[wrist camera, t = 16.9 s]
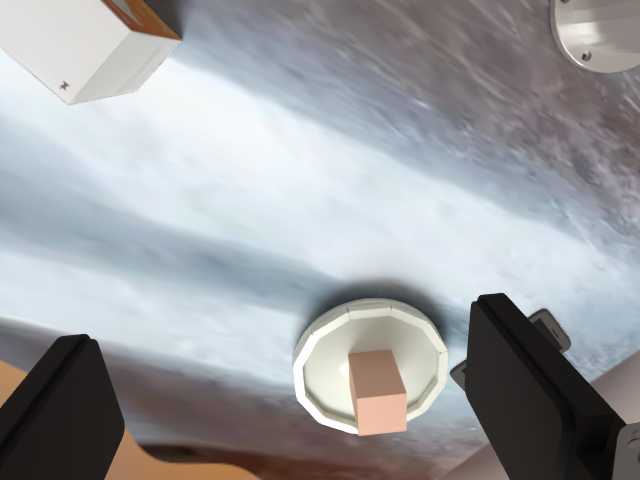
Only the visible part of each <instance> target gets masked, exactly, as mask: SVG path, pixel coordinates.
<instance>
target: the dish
mask: <svg viewBox="0 0 640 480" xmlns="http://www.w3.org/2000/svg"><path fill="white" fill-rule="evenodd" d="M390 349H391V350H392V353H393V356H394V359H395V361H396V364H397V367H398V370H399V373H400V375H401V378H402V381H403V384H404V387H405V389H406V392H407V421H406V422H408V421H409V420H411V419H413V418H415V417H417V416H419V415H421V414H422V413H424V411H426V410H427V409H428V408H429V406H430V405H431V404H432V402H433V401H434V399H435V398H436V397H437V395H438V394H439V393H440V391H441V390H442V389H443V387H444V386H445V385H446V384H445V383H446V380H447V365H448V349H447V348H446V346H445V344H444V343H443V340H442V338H441V336H440V334H439V332H438V330H437V329H436V327H435V325H434V324H433V323H432V322H431V320H430V319H429V318H428V317H427V316H426V315H425V314H423V313H422V312H421V311H419V310H418V309H416V308H414V307H412V306H410V305H408V304H406V303H403V302H400V301H397V300H392V299H385V298H365V299H359V300H354V301H350V302H347V303H344V304H341V305H339V306H336V307H334V308H332V309H331V310H329V311H327V312H325V313H324V314H323V315H321V316H320V317H318V318H317V319H316V320H315V321H314V322H313V323H312V324H311V325H310V326H309V327H308V328H307V329H306V330H305V332H304V333H303V335H302V336H301V338H300V340H299V342H298V344H297V346H296V349H295V352H294V357H293V379H294V384H295V388H296V397H297V400H298V401H299V402H300V403H301V404H302V405H303V406H304V407H305V408H306V409H307V410H308V411H309V413H310V414H311V415H312V416H313V417H314V418H315V419H316V420H317V421H318V422H320V423H321V424H324V425H327V426H330V427H333V428H337V429H340V430H343V431H346V432H349V433H352V434H353V433H355V434H358V430H357V424H356V419H355V414H354V408H353V403H352V398H351V393H350V386H349V366H348V354H350V353H360V352H370V351H380V350H390Z"/></svg>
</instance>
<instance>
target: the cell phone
mask: <svg viewBox="0 0 640 480" xmlns="http://www.w3.org/2000/svg"><path fill="white" fill-rule="evenodd" d="M528 319H529V321H530V322H531V323H532V324H533V325H534V326H535V327H536V328H537V329H538V330H539V331H540V332H541V334H542V335H543V336H544V337H545V338H546V339H547V340H548V341H549V342H550V343H551V344H552V345H553V346H555V347H556V348H557V349H558V351H559V352H560V353H561V354H562V353H564V352H565V351H567V350H568V349H569V348H570V346H571V342H570V341H569V339H568V337H567V336H566V335H565V333H564V332H563V331H562V329H561V328H560V327H559V325H558V324H557V323H556V321H555V320H554V319H553V317H552V316H551V315H550V313H549V312H548V311H547V310H540V311H538V312H537V313H535V314H533V315H532V316H530V317H529V318H528ZM465 372H466V360H465V361H464V362H462V363H461V364H459V365H458V366H456V367H455V368H453V369H452V370H451V371H450V376H451V377H452V378H453V380H454V381H455V382H456V383H457V384H458V385H459V386H460V387H461V388H462V389H463V390H464V391H465Z"/></svg>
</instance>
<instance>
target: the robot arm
mask: <svg viewBox="0 0 640 480" xmlns="http://www.w3.org/2000/svg"><path fill="white" fill-rule="evenodd" d="M550 23H551V29H552V34H553V36H554V39H555V41H556V44H557V46H558V47H559V49H560V50H561V52H562V53H563V55H564V56H565V57H566V58H567V59H568V60H569V61H570V62H572V63H573V64H574V65H576V66H578V67H580V68H582V69H585V70H588V71H592V72H602V73H610V72H620V71H624V70H627V69H631V68H633V67H635V66H638V65H640V0H550ZM582 55H583V57H582ZM465 393H466V396H467V399H468V401H469V403H470V405H471V407H472V409H473V410H474V412H475V414H476V416H477V418H478V420H479V422H480V424H481V426H482V428H483V429H484V431H485V433H486V435H487V437H488V439H489V441H490V443H491V445H492V447H493V448H494V450H495V452H496V454H497V456H498V458H499V460H500V462H501V463H502V465H503V467H504V469H505V471H506V473H507V475H508V477H509V479H510V480H640V422H638V423H633V424H628V425H627V424H626V423H625V422H624V421H623V420H622V419H621V418H620V417H619V416H618V414H617V413H616V412H615V411H614V410H613V409H612V408H611V407H610V406H609V405H608V404H607V403H606V401H605V400H604V399H603V398H602V397H601V396H600V395H599V394H598V393H597V392H596V391H595V390H594V388H593V387H592V386H591V385H590V384H589V383H588V382H587V381H586V380H585V379H584V378H583V377H582V375H581V374H580V373H579V372H578V371H577V370H576V369H575V368H574V367H573V366H572V365H571V364H570V362H569V361H568V360H567V359H566V358H565V357H564V356H563V355H562V354H561V353H560V352H559V351H558V349H557V348H556V347H555V346H553V345H552V344H551V343H550V342H549V341H548V340H547V339H546V338H545V337H544V336H543V335H542V334H541V332H540V331H539V330H538V329H537V328H536V327H535V326H534V325H533V324H532V323H531V322H530V321H529V319H528V318H527V317H526V316H525V315H524V314H523V313H522V312H521V311H520V310H519V309H518V307H517V306H516V305H515V304H514V303H513V302H512V301H511V300H510V299H509V298H508V297H507V296H506V295H505V294H504V293H496V294H486V295H480V296H479V297H478V299H477V301H473V302H472V304H471V311H470V323H469V335H468V347H467V360H466V372H465ZM124 428H125V425H124V419H123V416H122V413H121V410H120V407H119V404H118V401H117V398H116V395H115V392H114V389H113V386H112V383H111V380H110V377H109V374H108V371H107V368H106V365H105V362H104V359H103V356H102V354H101V351H100V348H99V345H98V342H97V341H96V340H95V339H90V337H89V336H88V335H87V334H79V335H68V336H61V337H59V338H58V339H57V340H56V341H55V342H54V343H53V344H52V346H51V347H50V348H49V349H48V351H47V352H46V353H45V354H44V355H43V357H42V358H41V359H40V360H39V362H38V363H37V364H36V365H35V366H34V368H33V369H32V370H31V371H30V372H29V374H28V375H27V376H26V377H25V379H24V380H23V381H22V382H21V384H20V385H19V386H18V387H17V388H16V390H15V391H14V392H13V393H12V395H11V396H10V397H9V398H8V399H7V401H6V402H5V403H4V404H3V405H2V407H1V408H0V480H104V479H105V477H106V474H107V472H108V469H109V467H110V465H111V463H112V460H113V458H114V456H115V454H116V451H117V449H118V447H119V444H120V442H121V440H122V437H123V434H124Z"/></svg>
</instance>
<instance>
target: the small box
mask: <svg viewBox="0 0 640 480" xmlns="http://www.w3.org/2000/svg"><path fill="white" fill-rule="evenodd" d="M181 42H182V39H181V38H180V37H179V36H178V35H177V34H176V33H175V32H173V31H172V30H171V29H170V28H169V27H168V26H167V25H166V24H165V23H164V22H163V21H162V20H161V19H160V18H159V16H158V15H157V14H156V13H155V12H154V11H153V10H152V9H151V8H150V7H149V6H148V5H147V4H146V3H145V2H144V1H143V0H0V48H1V49H2V50H3V51H4V52H5V53H7V54H8V55H9V56H10V57H11V58H12V59H13V60H15V61H16V62H17V63H18V64H19V65H20V66H22V67H23V68H24V69H26V70H27V71H28V72H29V73H31V74H32V75H33V76H34V77H35V78H37V79H38V80H39V81H40V82H41V83H42V84H44V85H45V86H46V87H47V88H48V89H49V90H51V91H52V92H53V93H54V94H55V95H56V96H57V97H59V98H60V99H61V100H62V101H63V102H64V103H66V104H67V105H74V104H78V103H83V102H88V101H93V100H98V99H103V98H108V97H113V96H118V95H123V94H127V93H132V92H137V91H138V90H139V88H140V87H141V86H142V85H143V84H144V83H145V82H146V81H147V79H148V78H149V77H150V76H151V75H152V74H153V73H154V72H155V70H156V69H157V68H158V67H159V66H160V65H161V64H162V63H163V62H164V61H165V60H166V58H167V57H168V56H169V55H170V54H171V53H172V52H173V51H174V50H175V49H176V47H177V46H178V45H179V44H180V43H181Z"/></svg>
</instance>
